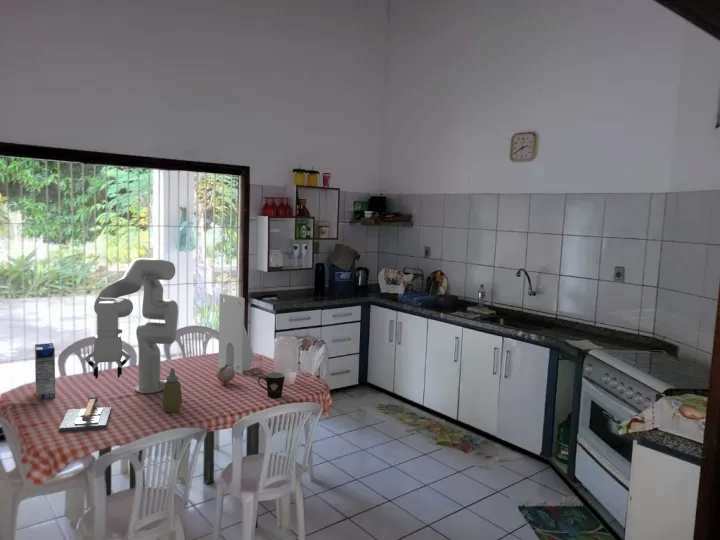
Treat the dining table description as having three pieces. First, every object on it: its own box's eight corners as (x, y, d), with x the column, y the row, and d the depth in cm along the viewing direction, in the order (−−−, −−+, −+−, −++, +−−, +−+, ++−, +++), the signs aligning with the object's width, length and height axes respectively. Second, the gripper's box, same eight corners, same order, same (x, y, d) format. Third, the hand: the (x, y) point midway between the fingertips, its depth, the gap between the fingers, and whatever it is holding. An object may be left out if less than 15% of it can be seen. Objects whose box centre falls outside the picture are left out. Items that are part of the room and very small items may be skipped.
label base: (111, 407, 236) (111, 400, 236) (105, 428, 215) (105, 420, 214) (69, 410, 231) (69, 402, 231) (59, 432, 210) (58, 423, 209)
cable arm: (98, 399, 235) (98, 395, 235) (90, 421, 212) (90, 416, 212) (89, 400, 234) (89, 395, 234) (79, 422, 211) (79, 417, 211)
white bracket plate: (263, 369, 301) (265, 296, 297) (241, 374, 290) (243, 298, 286) (239, 362, 314) (241, 291, 310) (218, 366, 303) (219, 293, 299)
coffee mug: (287, 395, 262) (288, 374, 261) (277, 400, 254) (278, 378, 253) (266, 390, 267) (267, 370, 266) (256, 395, 259) (256, 374, 258)
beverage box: (37, 400, 241) (36, 350, 239) (35, 392, 251) (34, 344, 248) (55, 397, 245) (54, 348, 243) (53, 390, 254) (52, 342, 252)
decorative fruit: (230, 387, 269) (230, 367, 268) (214, 386, 271) (214, 365, 270) (237, 381, 278) (238, 362, 277) (222, 380, 280) (222, 360, 279)
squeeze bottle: (164, 406, 240) (165, 365, 238) (184, 407, 241) (184, 366, 239) (159, 413, 232) (159, 371, 230) (179, 413, 233) (180, 371, 231)
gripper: (132, 330, 225) (132, 373, 227) (84, 331, 219) (84, 375, 221) (131, 334, 218) (131, 378, 220) (81, 335, 212) (81, 381, 214)
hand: (107, 376), depth 220 cm, fingers open, 7 cm apart
